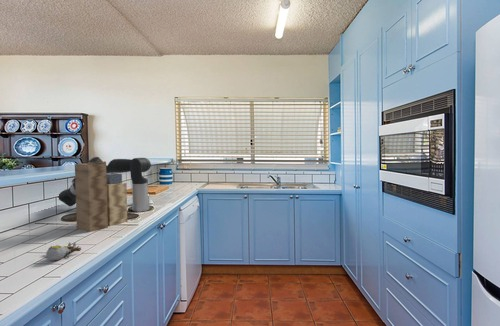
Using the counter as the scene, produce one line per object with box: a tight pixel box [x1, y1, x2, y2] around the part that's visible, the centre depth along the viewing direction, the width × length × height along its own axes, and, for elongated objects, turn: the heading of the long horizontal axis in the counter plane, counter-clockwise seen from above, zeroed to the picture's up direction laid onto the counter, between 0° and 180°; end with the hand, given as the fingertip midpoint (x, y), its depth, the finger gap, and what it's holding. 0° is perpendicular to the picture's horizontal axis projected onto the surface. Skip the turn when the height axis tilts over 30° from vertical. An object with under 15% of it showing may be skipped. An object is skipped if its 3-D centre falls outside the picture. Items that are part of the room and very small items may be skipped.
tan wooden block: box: [107, 182, 128, 227], centre depth 162 cm, size 10×12×21 cm
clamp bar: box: [106, 173, 123, 185], centre depth 165 cm, size 7×22×5 cm, turn 57°
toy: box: [45, 242, 82, 261], centre depth 114 cm, size 12×5×15 cm
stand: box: [74, 161, 109, 233], centre depth 150 cm, size 9×12×33 cm
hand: (92, 174), depth 170 cm, fingers open, 8 cm apart
